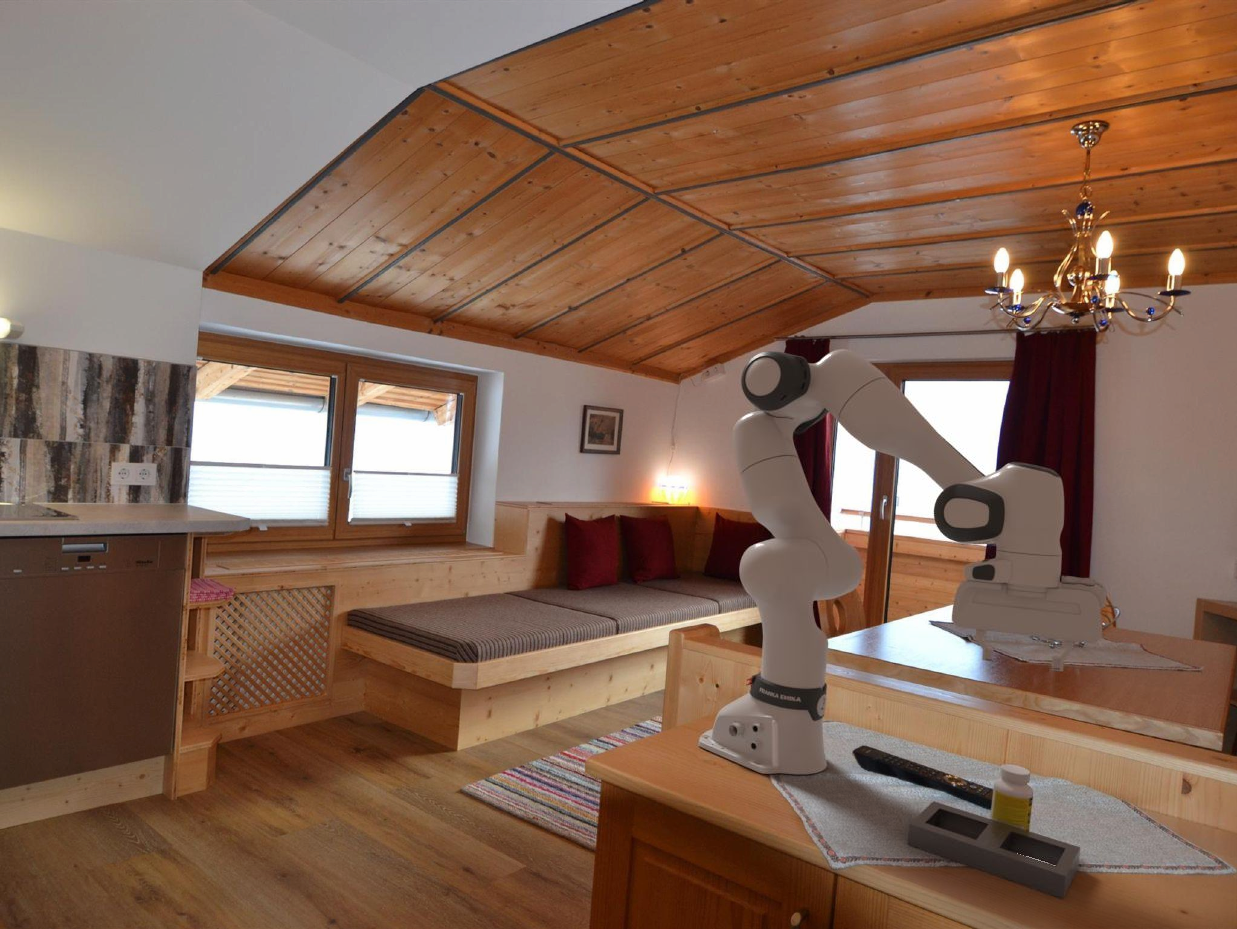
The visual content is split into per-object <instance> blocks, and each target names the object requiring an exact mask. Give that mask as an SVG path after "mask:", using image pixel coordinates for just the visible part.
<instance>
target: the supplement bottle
mask: <svg viewBox="0 0 1237 929" xmlns="http://www.w3.org/2000/svg"><path fill="white" fill-rule="evenodd" d="M999 775H1000V778H998V779H996V780H995V781H994V784H993V789H992V798H991V808H990V815H989V816H990V817H989V819H992V820H995V821H998V822H1001V823H1004V824H1008V825H1011V826H1014V827H1017V828H1020V829H1023V830H1027V831H1030V826H1031V816H1032V809H1033V802H1034V800H1033V798H1034V790H1033V787H1031V785H1029V783H1030V781H1031V772H1030V770H1028V769H1027V768H1025V767H1022V766H1020V765H1017V764H1009V763H1008V764H1007V763H1006V764H1002V765H1001V766H1000V774H999Z"/></svg>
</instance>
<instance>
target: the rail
mask: <svg viewBox="0 0 1237 929" xmlns="http://www.w3.org/2000/svg"><path fill="white" fill-rule="evenodd" d="M907 836H908V838H907V846H910V847H914V848H917V849H920V850H922V851H925V852H927V853H930V852H931V853H930V854H933V853H934V855H937V856H939V857H942V856H943V857H942V858H945V859H947V858H948V860H950V859H951V861H954V862H957V863H959V864H962V865H965V866H968V867H970V868H974V869H977V870H979V871H982V872H985V873H987V874H990V875H994V876H996V877H998V878H999V877H1000V878H1002V879H1005V880H1008V881H1011V882H1013V883H1017V884H1019V885H1022V886H1025V887H1028V888H1030V889H1034V890H1037V891H1039V892H1042V893H1045V894H1047V895H1051V896H1054V897H1056V898H1059V899H1062V900H1064V899H1065V897H1066V895H1067V892H1068V890H1069V888H1070V886H1071V885H1072V882H1073V880H1074V878H1075V877H1076V873H1077V872H1078V870H1079V863H1080V855H1081V847H1080V846H1077V845H1073V844H1070V843H1067V842H1064V841H1061V840H1058V839H1055V838H1052V837H1048V836H1045V835H1042V834H1039V833H1035V832H1033V831H1030V830H1029V831H1027V830H1023V829H1020V828H1017V827H1014V826H1011V825H1008V824H1004V823H1001V822H998V821H995V820H992V819H990V818H988V817H985V816H983V815H979V814H976V813H972V812H969V811H966V810H964V809H963V810H962V809H959V808H956V807H954V806H950V805H946V804H943V803H940V802H937V801H934V800H933V801H932V802H931V803H930V804H929V805H927V807H926V808H924V809H923V810H922V811H921V812H920V813H919V814H918V815H917V816H916V817H915V818H914V819H913V820H911V822H910V823H909V827H908V835H907ZM1017 853H1018V854H1017ZM1020 854H1021V855H1020ZM1023 855H1024V856H1023ZM1026 856H1029V857H1032V858H1035V859H1039V860H1041V861H1045V862H1048V863H1050V864H1053V865H1056V866H1053V865H1050V864H1047V863H1044V862H1041V861H1038V860H1035V859H1032V858H1029V857H1026Z"/></svg>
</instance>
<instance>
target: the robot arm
mask: <svg viewBox="0 0 1237 929" xmlns="http://www.w3.org/2000/svg"><path fill="white" fill-rule="evenodd" d="M740 384H741V389H742V392H743V394H744V396H745V398H746V399H747V400H748V401H749V402H750V403H751V404H752V405H753V406H754V409H753V410H752V411H751V412H749V413H746V414H744V415H743V416H741V417H740V418H738V420H737V421H736V422H735V424H734V426H733V429H732V443H733V452H734V456H735V462H736V465H737V469H738V470H737V471H738V473H739V474H738V475H739V477H740V481H741V483H742V487H743V491H744V493H745V496H746V500H747V502H748V506H749V510H750V514H752V516H753V517H754V519H755V520H756V521H757V522H758V523H759V524H760V525H762V526H763V527H764V528H766V529H767V531H769V532H770V533H771V534H772V536H773V537H774V538H770V539H767V540H763V541H760V542H757V543H754V544H753V545H751V546H749V547H748V548H747V549H746V550H745V551H744V552H743V555H742V556H741V559H740V561H739V562H740V563H739V570H738V571H739V578H740V582H741V584H742V587H743V589H744V591H745V592H746V593H747V594H748V595H749V596H750V597H751V598H752V599H753V601H754V603H755V604H756V605H755V606H756V607H757V610H758V612H759V616H760V620H761V625H762V627H761V628H762V649H761V650H762V652H761V666H760V667H761V668H760V670H759V671H758V673H757V674H753V675H751V677H750V678H747V679H746V681H747V682H746V683H745V686H750V689H749V692H747V693H746V694H744V695H742V696H740V697H738V698H736V699H735V700H733V701H731V702H730V703H728V704H726V705H725V706H724V707H722V708H721V709H720V710H719V711H718V713H717V715H716V716H715V719H714V723H713V727H712V728H711V729H709V730H707V731H705V732H703V733H702V734H701V735H700V737H699V740H698V746H699V747H700V748H702V749H704V750H707V751H710V752H711V753H714V754H716V755H718V756H720V757H723V758H725V759H726V760H727V759H728V760H730V761H732V762H734V763H736V764H738V765H741V766H743V767H745V768H748V769H751V770H753V771H755V772H757V773H760V774H767V775H771V774H789V775H810V774H818V773H820V772H822V771H824V770H825V769H826V768H827V767H828V762H827V759H826V752H825V744H824V743H825V742H824V727H823V726H824V725H823V722H824V721H823V719H824V717H825V713H826V709H827V708H826V707H827V697H828V696H827V690H828V688H827V687H828V685H827V683H826V673H827V665H828V664H827V662H828V652H829V651H828V650H829V640H828V637H827V635H826V634H825V633H824V632H823V630H822V629H820V628H819V627H818V625H817V623H816V619H815V615H814V614H815V613H814V608H813V607H814V601H825V600H834V599H836V598H839V597H842V596H845V595H847V594H849V593H851V592H853V591H855V589H856V588H857V587H858V586H859V585H860V583H861V580H862V578H863V574H864V565H863V561H862V557H861V555H860V553H859V551H858V550H857V549H856V548H855V546H853V545H852V544H850V543H849V542H848V541H847V540H846V539H844V538H843V537H842V536H840V534H839V533H838V532H837V531H836V530H835V528H834V527H833V525H831V523H830V522H829V520H828V519H827V518H826V515H824V513H823V512H822V510H821V508H820V507H819V506H818V504H817V502H816V500H815V498H814V496H813V494H812V492H811V489H810V486H809V483H808V481H807V478H806V475H805V473H804V469H803V467H802V463H801V461H800V458H799V455H798V452H797V449H796V447H795V444H794V443H795V442H794V435H801V434H803V433H805V432H806V431H807V430H808V429H809V428H810V427H812V426H813V425H816V424H817V423H818V422H820V421H822V420H823V419H824V418H825V417H826V416H827V415H828V414H829V413H830V414H831V415H832V416H833V417H834V419H836V421H837V422H838V423H839V424H840V426H842V427H843V429H845V431H847V432H846V433H849V434H850V436H851V437H852V438H854V439H855V440H856V441H858V442H859V443H861V444H862V445H864V446H865V447H867V448H868V449H870V450H872V451H875V452H878V453H882V454H884V455H885V454H886V455H889V456H892V457H895V458H898V459H900V460H903V461H905V462H908V463H910V464H912V465H914V466H915V467H917V468H919V469H920V470H921V471H922V472H924V473H925V474H926V475H927V476H928V477H929V478H930V479H931V481H934V482H935V483H936V484H937V486H938V487H939V488H940V489H942V491H941V492H940V493H939V495H938V496H937V498H936V500H935V503H934V507H933V518H934V523H935V525H936V528H937V529H938V530H939V532H940V533H941V534H942V535H943V536H944V537H946V538H947V539H949V540H951V541H954V542H956V543H958V544H965V545H986V546H987V545H988V546H994V547H996V553H995V554H996V555H995V557H994V558H991V559H990V558H985V559H982V560H980V561H979V560H978V561H975V562H974V561H973V562H970V563H968V564H966V565H965V566H964V568H963V577H964V578H965V579H964V580H963V581H962V582H961V583H960V584H959V585H958V587H957V589H956V592H955V596H954V598H953V604H952V612H951V622H952V623H953V624H954V626H955V627H957V628H961V629H962V628H963V629H973V630H975V638H976V640H977V642H978V643H979V646H980V647H981V649H982V657H981V658H982V661H985V662H993V661H994V650H995V649H994V648H992V647H988V644H987V643H986V641H985V639H984V638H986V636H987V631H990V632H993V633H994V632H997V633H1002V634H1004V633H1005V634H1012V635H1020V636H1027V637H1029V636H1030V637H1035V638H1037V637H1038V638H1043V639H1051V640H1061V646H1062V648H1063V651H1061V653H1060V655H1059V656H1052V660H1051V661H1052V664H1051V670H1052V671H1058V672H1064V664H1065V662H1064V661H1065V660H1066V659H1067V657H1068V656H1069V655H1070V654H1071V652H1072V651H1073V650H1074V643H1075V642H1076V643H1083V644H1093V645H1094V644H1095V645H1096V644H1097V643H1098V642H1100V641H1101V640H1102V637H1103V622H1102V613H1101V610H1103V609H1104V608H1105V606H1106V604H1107V589H1106V588H1105V586H1104V585H1103V583H1101V582H1098V581H1096V579H1095V578H1090V577H1077V576H1070V575H1062V574H1061V572H1062V557H1063V556H1062V555H1063V552H1062V547H1061V542H1060V540H1061V539H1060V538H1061V534H1062V531H1063V528H1064V525H1065V524H1064V523H1065V522H1064V521H1065V492H1064V491H1065V490H1064V484H1063V480H1062V478H1061V476H1060V475H1059V473H1057V471H1055V470H1053V469H1051V468H1048V467H1044V466H1040V465H1036V464H1030V463H1025V462H1020V461H1018V462H1017V461H1013V462H1008V463H1007V464H1005V465H1004V466H1003V467H1001V468H1000V469H998V470H996V471H994V472H992V473H990V474H987V475H986V474H984V473H983V472H982V471H981V470H980V469H978V468H977V467H976V466H975V465H974V464H973V463H972V462H971V461H969V460H968V459H967V457H965V456H964V455H963V454H962V453H961V452H960V451H959V450H958V449H956V447H954V446H953V445H952V444H951V443H950V442H949V441H948V440H947V439H946V438H944V437H943V436H942V435H941V434H940V433H939V432H938V431H937V430H936V428H934V427H933V425H932V424H931V423H930V422H929V421H928V420H927V419H926V418H925V417H924V416H923V415H922V414H921V413H920V411H919V410H918V409H917V408H916V406H914V404H913V403H912V402H911V401H910V400H909V398H908V397H907V396H906V395H905V394H904V392H902V391H901V389H900V388H899V387H898V386H897V385H896V384H895V383H894V382H893V381H892V380H891V379H890V378H888V376H886V374H885V373H883V372H882V371H881V370H880V369H879V368H877V366H876V365H874V364H872V363H871V362H870V361H869V360H867V359H865V357H863V356H861V355H860V354H858V353H856V352H855V351H853V350H850V349H845V348H841V349H835V350H833V351H830V352H828V353H827V354H826V355H825V356H823V357H822V358H821V359H820V360H819V361H817V362H815V363H811V362H810V363H809V362H808V359H806V358H805V357H804V356H799V355H795V354H791V353H787V352H782V351H781V352H780V351H773V350H772V351H770V350H769V351H763V352H759V353H757V354H756V355H753V357H751V359H750V360H748V361H747V363H746V364H745V365H744V367H743V370H742V374H741V379H740Z"/></svg>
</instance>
